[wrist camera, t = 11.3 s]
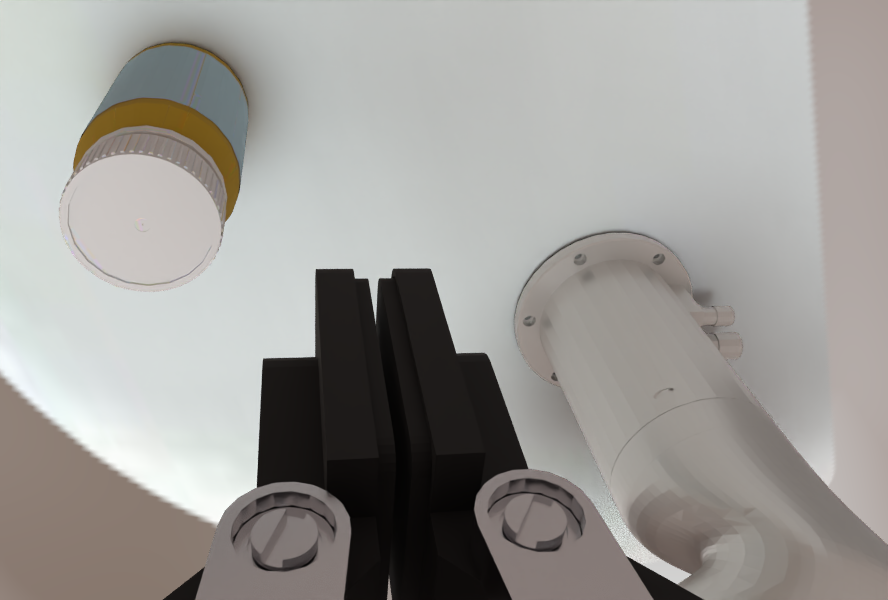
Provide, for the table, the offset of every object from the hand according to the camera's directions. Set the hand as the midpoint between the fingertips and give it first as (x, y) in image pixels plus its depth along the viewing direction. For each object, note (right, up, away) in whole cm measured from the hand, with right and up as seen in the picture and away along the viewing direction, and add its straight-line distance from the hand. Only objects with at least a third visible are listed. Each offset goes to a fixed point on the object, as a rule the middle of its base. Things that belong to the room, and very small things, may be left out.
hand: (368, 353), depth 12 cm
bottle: (-13, +12, +32) cm, 37 cm away
